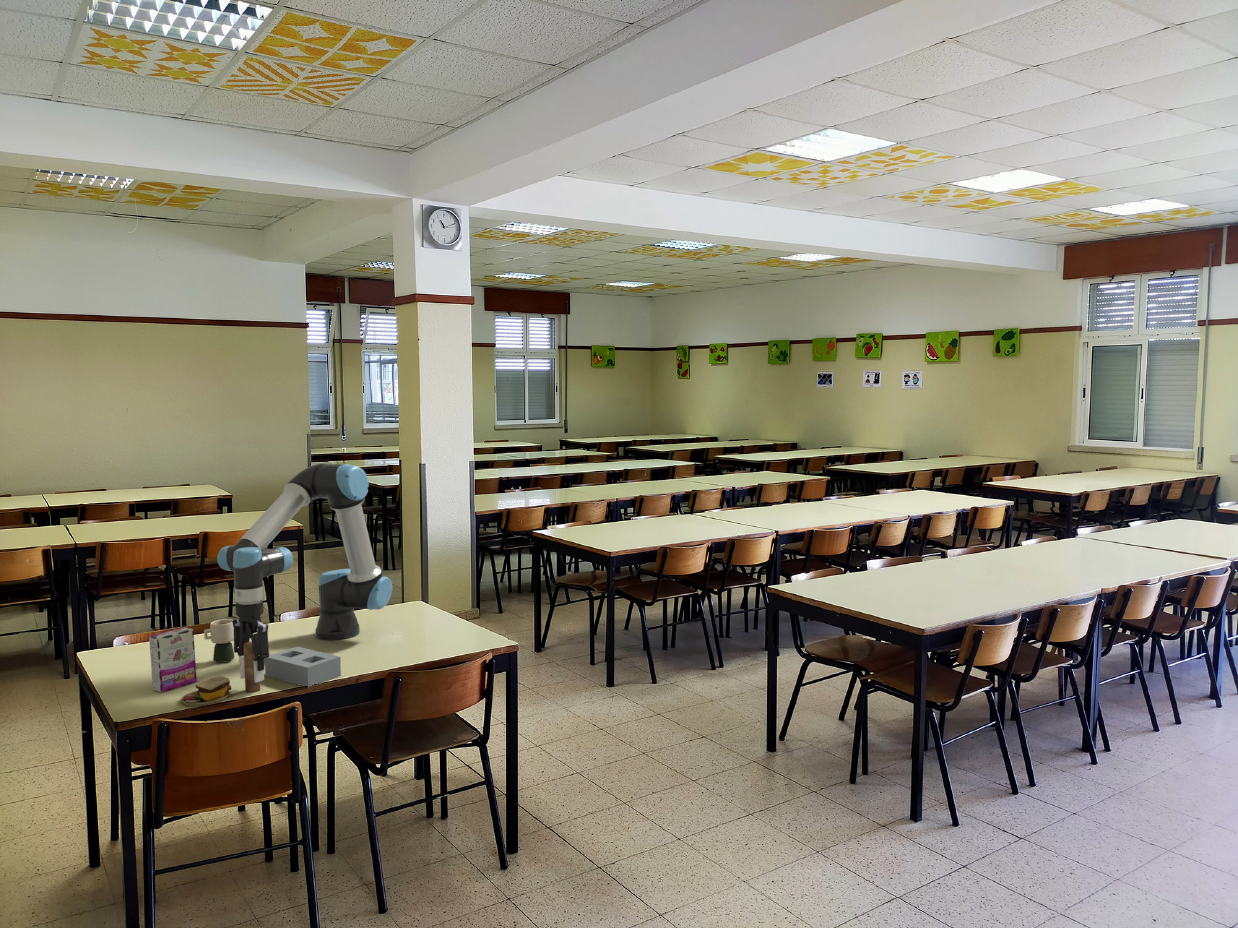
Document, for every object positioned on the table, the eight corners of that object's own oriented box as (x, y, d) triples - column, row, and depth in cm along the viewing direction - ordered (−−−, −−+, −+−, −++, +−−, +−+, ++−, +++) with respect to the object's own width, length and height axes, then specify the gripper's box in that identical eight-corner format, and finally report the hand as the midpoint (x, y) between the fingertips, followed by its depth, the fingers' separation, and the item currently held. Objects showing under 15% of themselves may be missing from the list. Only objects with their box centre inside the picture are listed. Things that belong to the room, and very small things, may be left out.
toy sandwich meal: (172, 701, 242) (171, 685, 242) (219, 687, 253) (218, 672, 253) (194, 711, 235) (193, 694, 235) (241, 697, 246) (240, 681, 245)
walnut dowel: (242, 690, 250) (240, 644, 249) (254, 686, 253) (252, 640, 252) (251, 693, 248) (249, 646, 247) (263, 689, 251) (261, 642, 250)
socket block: (265, 675, 263) (264, 656, 263) (298, 664, 273) (297, 646, 273) (308, 687, 253) (307, 667, 252) (340, 675, 263) (340, 656, 262)
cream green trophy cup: (240, 655, 283) (238, 616, 282) (243, 661, 277) (242, 621, 276) (204, 660, 278) (202, 621, 276) (206, 666, 272) (205, 626, 270)
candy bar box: (187, 679, 260) (185, 626, 259) (197, 682, 258) (194, 628, 256) (151, 690, 251) (148, 635, 249) (160, 693, 248) (157, 638, 247)
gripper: (217, 599, 250) (221, 677, 252) (258, 608, 240) (261, 688, 242) (240, 594, 256) (244, 669, 258) (281, 602, 247) (284, 680, 249)
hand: (252, 678), depth 250 cm, fingers open, 6 cm apart
